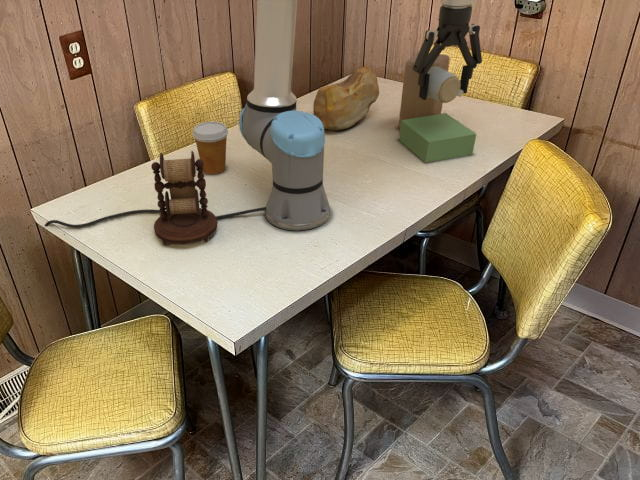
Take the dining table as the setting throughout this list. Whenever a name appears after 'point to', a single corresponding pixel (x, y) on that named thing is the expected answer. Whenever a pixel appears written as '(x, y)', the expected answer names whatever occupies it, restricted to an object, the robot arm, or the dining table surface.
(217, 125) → the disposable coffee cup
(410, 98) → the wooden block
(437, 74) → the ceramic mug
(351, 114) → the rough brown rock
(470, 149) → the green block
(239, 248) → the dining table surface
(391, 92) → the dining table surface
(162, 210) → the wooden thread spool stand
